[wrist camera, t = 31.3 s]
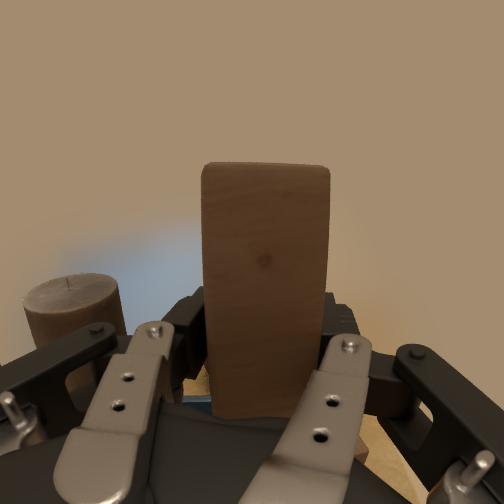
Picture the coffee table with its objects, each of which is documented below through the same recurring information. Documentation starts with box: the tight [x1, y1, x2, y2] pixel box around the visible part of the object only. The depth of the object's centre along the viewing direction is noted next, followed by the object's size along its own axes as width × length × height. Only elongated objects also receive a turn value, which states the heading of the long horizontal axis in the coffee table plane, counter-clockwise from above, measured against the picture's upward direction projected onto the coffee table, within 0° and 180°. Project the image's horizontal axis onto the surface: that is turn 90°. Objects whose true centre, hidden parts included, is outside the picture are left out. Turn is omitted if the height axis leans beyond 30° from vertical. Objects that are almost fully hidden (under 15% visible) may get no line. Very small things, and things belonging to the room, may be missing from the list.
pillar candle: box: [23, 273, 127, 392], centre depth 24 cm, size 10×10×15 cm
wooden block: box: [201, 162, 369, 464], centre depth 10 cm, size 7×3×15 cm, turn 100°
